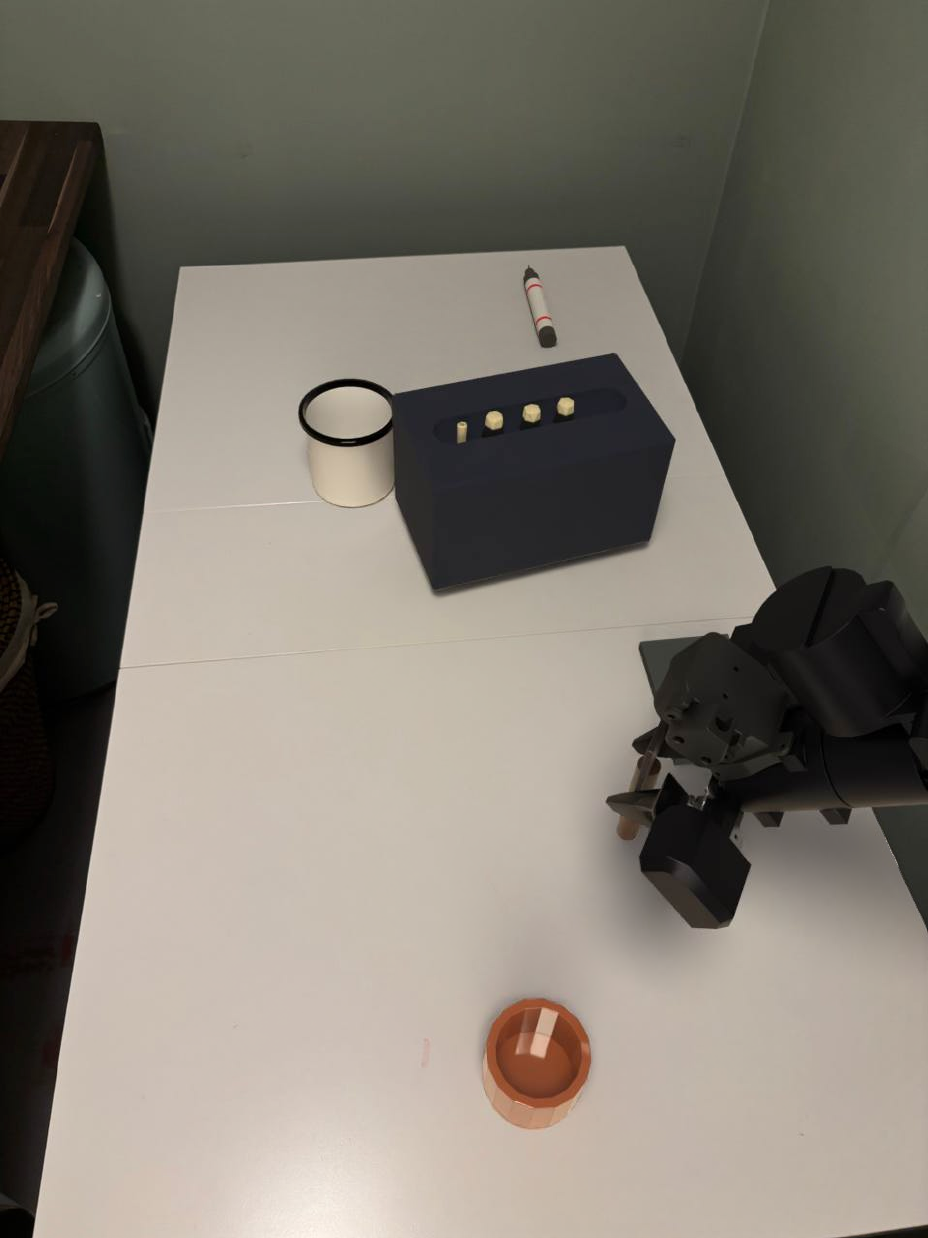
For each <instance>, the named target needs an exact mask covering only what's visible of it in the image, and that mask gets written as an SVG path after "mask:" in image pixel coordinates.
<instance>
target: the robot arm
mask: <svg viewBox="0 0 928 1238" xmlns="http://www.w3.org/2000/svg"><path fill="white" fill-rule="evenodd" d="M722 634H723V633H720V632H718V631H710V632H707V633H705V634H704V635H702V636H703V637H701V638H700V639H698V640H697V641H695V642H694V643H692V644H691V645H689V646H688V647H686V648H685V649H683V650H682V651H680V652H679V653H677V654H676V655H674V656H673V658H672V659H671V661H670V664H669V665H670V667H669V669H668V671H667V673H666V675H665V677H664V680H663V682H662V684H661V686H660V688H659V689H658V690H657V692H656V694H655V696H654V697H653V708H654V710H655V712H656V714H657V716H658V717H659V719H660V718H661V719H663V720H664V721H665V722H666V723H668V724H669V728H668V731H667V734H666V737H665V739H664V741H663V743H662V746H661V748H660V750H659V752H658V755H657V757H656V758H661V759H672V758H678V759H688V760H689V761H690V762H692V763H691V764H693V765H694V766H696V767H699V768H703V769H708V770H709V771H708V773H707V776H706V779H705V781H704V784H703V786H702V790H703V792H704V794H703V795H697V796H695V795H694V794H689V793H688V792H687V791H686V789H684V787H683V786H682V785H681V784H680V782H679V781H678V780H677V779H676V778H675V776H674V775H673V774H672V773H671V772H667V774H666V776H665V778H664V780H663V782H662V785H661V787H660V788H654V789H650V790H641V791H636V792H633V791H632V792H628V791H625V792H620V793H615V794H612V795H608V796H606V798H605V801H604V802H605V804H606V805H607V806H608V807H609V808H610V810H612V812H614V813H616V814H617V815H620V816H621V815H622V816H624V817H626V818H628V819H630V820H632V821H634V822H636V823H638V824H640V825H641V827H645V828H646V829H648V830H649V831H648V833H647V836H646V838H645V840H644V843H643V845H642V847H641V850H640V852H639V854H638V862H639V867H640V873H641V874H642V875H643V876H644V877H645V878H646V879H647V880H648V881H649V883H650V884H651V885H652V886H653V887H654V889H656V890H657V892H658V893H660V895H661V896H662V897H663V898H664V899H665V901H667V902H668V904H669V905H670V906H671V907H672V908H673V910H674V911H676V912H677V914H678V915H679V916H680V918H682V919H683V920H684V921H685V922H686V924H687V925H689V927H690V928H691V929H705V930H718V929H723V928H727V927H730V925H731V923H732V921H733V919H734V918H735V915H736V912H737V909H738V907H739V903H740V900H741V897H742V895H743V891H744V889H745V885H746V883H747V880H748V876H749V874H750V871H751V868H752V863H751V861H750V860H748V858H747V857H746V856H745V855H744V854H743V852H742V851H741V849H742V847H743V844H744V834H743V831H742V827H741V826H742V822H743V819H744V816H745V814H752V815H753V816H754V818H756V820H757V821H758V822H759V824H760V825H761V826H762V827H763V828H765V829H767V828H780V827H781V825H782V820H783V819H784V818H783V817H784V815H785V813H789V812H807V811H808V812H809V811H819V812H820V814H821V815H822V816H823V818H824V819H825V821H826V822H827V823H828V825H829V826H843V825H844V826H845V825H849V821H850V818H851V814H852V810H853V809H865V808H866V809H867V808H882V807H883V808H884V807H900V806H901V807H904V806H921V805H928V641H927V640H926V638H925V637H924V635H923V633H922V632H921V630H920V628H919V627H918V625H917V624H916V622H915V621H914V619H913V617H912V616H911V614H910V613H909V610H908V606H907V603H906V600H905V597H904V596H903V594H902V593H901V591H900V590H899V588H898V587H897V585H896V584H895V583H894V581H891V580H888V579H887V580H882V581H877V582H873V583H867V581H866V580H865V578H864V576H863V575H862V574H860V573H859V572H858V571H856V570H854V569H850V568H845V567H833V566H832V565H825V566H819V567H815V568H813V569H810V570H807V571H805V572H802V573H801V574H799V575H797V576H795V577H793V578H791V579H790V580H788V581H787V582H785V583H784V584H782V585H780V586H779V587H778V588H777V589H776V590H774V591H773V592H772V593H771V594H769V596H768V597H767V598H766V599H765V600H764V601H763V602H762V603H761V605H760V606H759V608H758V609H757V611H756V612H755V613H754V616H753V618H752V621H751V622H749V623H744V624H740V625H736V626H734V628H733V630H732V633H731V636H730V637H729V638H730V640H728V639H727V638H726V637H724V636H723V635H722ZM657 727H658V725H657V726H654V727H653V728H652V729H649V730H647V731H646V732H645V733H642V734H641V735H639V736H637V737H636V738H634V739H633V740H632V743H631V747H632V748H633V749H634V750H635V751H636V753H637V754H638V755H641V756H643V755H645V754H646V751H647V748H648V746H649V744H650V742H651V740H652V738H653V735H654V733H655V731H656V729H657Z"/></svg>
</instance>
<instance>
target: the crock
mask: <svg viewBox="0 0 928 1238" xmlns="http://www.w3.org/2000/svg"><path fill="white" fill-rule="evenodd" d="M591 1065H592V1052H591V1045H590V1039H589V1036H588V1034H587V1032H586V1031H585V1029H584V1027H583V1024H582V1023H581V1021H580V1019H579V1018H578V1017H576V1015H574V1013H572V1012H571V1011H570V1010H568V1009H567V1008H566V1007H565V1006H564V1005H562V1004H561V1003H558V1002H554V1001H552V1000H548V999H546V998H542V997H541V998H526V999H525V998H524V999H521V1000H519V1001H517V1002H515V1003H513V1004H511V1005H509V1006H507V1007H506V1008H505V1009H503V1010H502V1011H501V1013H500V1014H499V1015H498V1016H497V1018H496V1019H495V1020H494V1021H493V1022H492V1024H491V1027H490V1029H489V1033H488V1036H487V1039H486V1043H485V1048H484V1055H483V1061H482V1082H483V1088H484V1091H485V1095H486V1097H487V1100H488V1101H489V1103H490V1105H491V1106H492V1108H493V1109H494V1110H495V1112H496V1113H497V1114H498V1115H499V1116H500V1117H501V1118H502V1119H504V1120H505V1121H506V1122H508V1123H510V1124H512V1125H514V1126H516V1127H518V1128H521V1129H526V1130H541V1129H546V1128H550V1127H552V1126H554V1125H556V1124H558V1123H559V1122H561V1121H562V1120H563V1119H564V1118H566V1117H567V1116H568V1114H569V1113H570V1112H571V1111H572V1109H573V1108H574V1106H575V1105H576V1104H577V1102H578V1100H579V1098H580V1095H581V1094H582V1092H583V1090H584V1087H585V1085H586V1083H587V1080H588V1077H589V1072H590V1070H591V1069H590V1068H591Z"/></svg>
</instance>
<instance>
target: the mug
mask: <svg viewBox="0 0 928 1238" xmlns="http://www.w3.org/2000/svg"><path fill="white" fill-rule="evenodd" d="M393 395H394V394H393V393H392V392H390V390H389V389H387V388H386V387H384V386H382V385H381V384H379V383H376V382H373V381H371V380H367V379H361V378H339V379H334V380H329V381H326V382H323V383H321V384H319V385H317V386H315V387H313V388H312V389H310V391H308V392H306V394H305V395H304V396H303V398H302V399H301V400H300V401H299V402H300V403H299V405H298V411H297V418H298V423H299V425H300V427H301V429H302V430H303V432H305V433H306V441H307V443H306V444H307V450H308V451H307V452H308V456H309V457H308V458H309V467H310V476H311V482H312V487H313V489H314V490H315V492H316V493H317V494H318V496H319V497H321V498H322V499H323V500H325V501H326V502H329V503H331V504H333V505H336V506H339V507H340V506H341V507H347V508H357V507H358V508H359V507H364V506H367V505H371V504H374V503H376V502H379V501H380V500H382V499H383V498H384V497H386V496H387V495H388V494H389V493H390V492H391V490H392V489H393V487H394V486H395V477H394V450H393V424H392V398H391V397H392V396H393Z"/></svg>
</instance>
